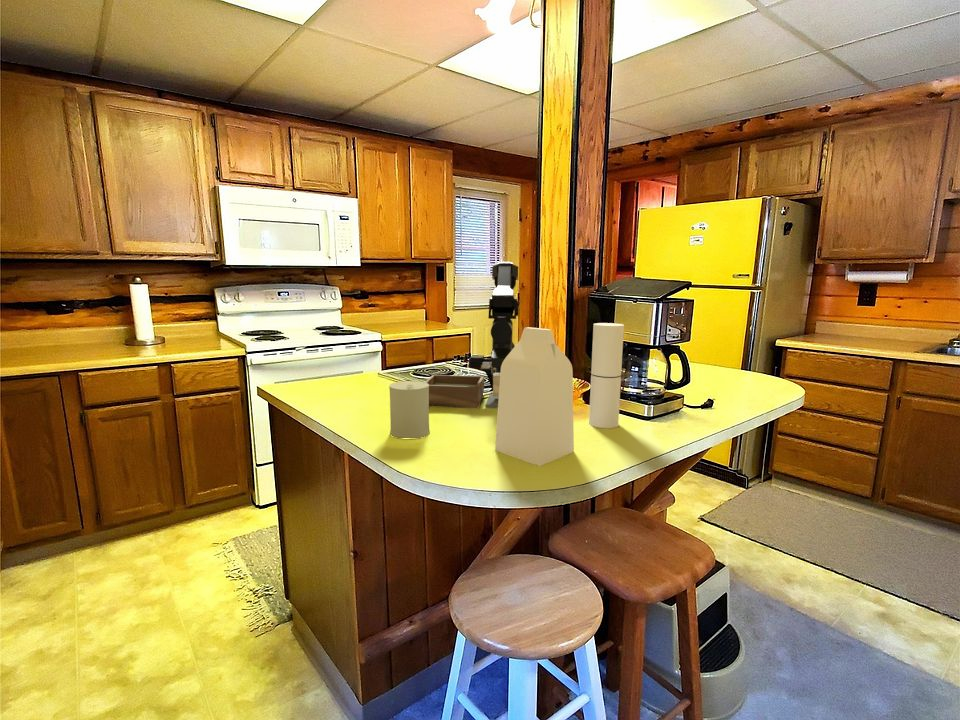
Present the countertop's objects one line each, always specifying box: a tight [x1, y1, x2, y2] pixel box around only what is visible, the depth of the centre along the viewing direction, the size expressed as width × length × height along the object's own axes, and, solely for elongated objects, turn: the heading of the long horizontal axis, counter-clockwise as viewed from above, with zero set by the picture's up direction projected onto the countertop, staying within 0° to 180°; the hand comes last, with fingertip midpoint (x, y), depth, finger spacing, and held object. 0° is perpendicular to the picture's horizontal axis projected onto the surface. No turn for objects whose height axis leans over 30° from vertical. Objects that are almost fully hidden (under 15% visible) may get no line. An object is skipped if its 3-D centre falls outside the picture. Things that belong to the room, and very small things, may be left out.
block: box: [492, 372, 500, 397], centre depth 144 cm, size 5×5×6 cm
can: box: [388, 380, 431, 439], centre depth 115 cm, size 9×9×12 cm
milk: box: [494, 327, 575, 467], centre depth 103 cm, size 12×12×26 cm
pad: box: [485, 393, 499, 409], centre depth 145 cm, size 12×8×1 cm, turn 173°
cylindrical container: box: [588, 322, 625, 429], centre depth 122 cm, size 7×7×25 cm
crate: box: [424, 374, 485, 409], centre depth 146 cm, size 15×16×6 cm
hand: (501, 391), depth 144 cm, fingers closed on block, 4 cm apart
